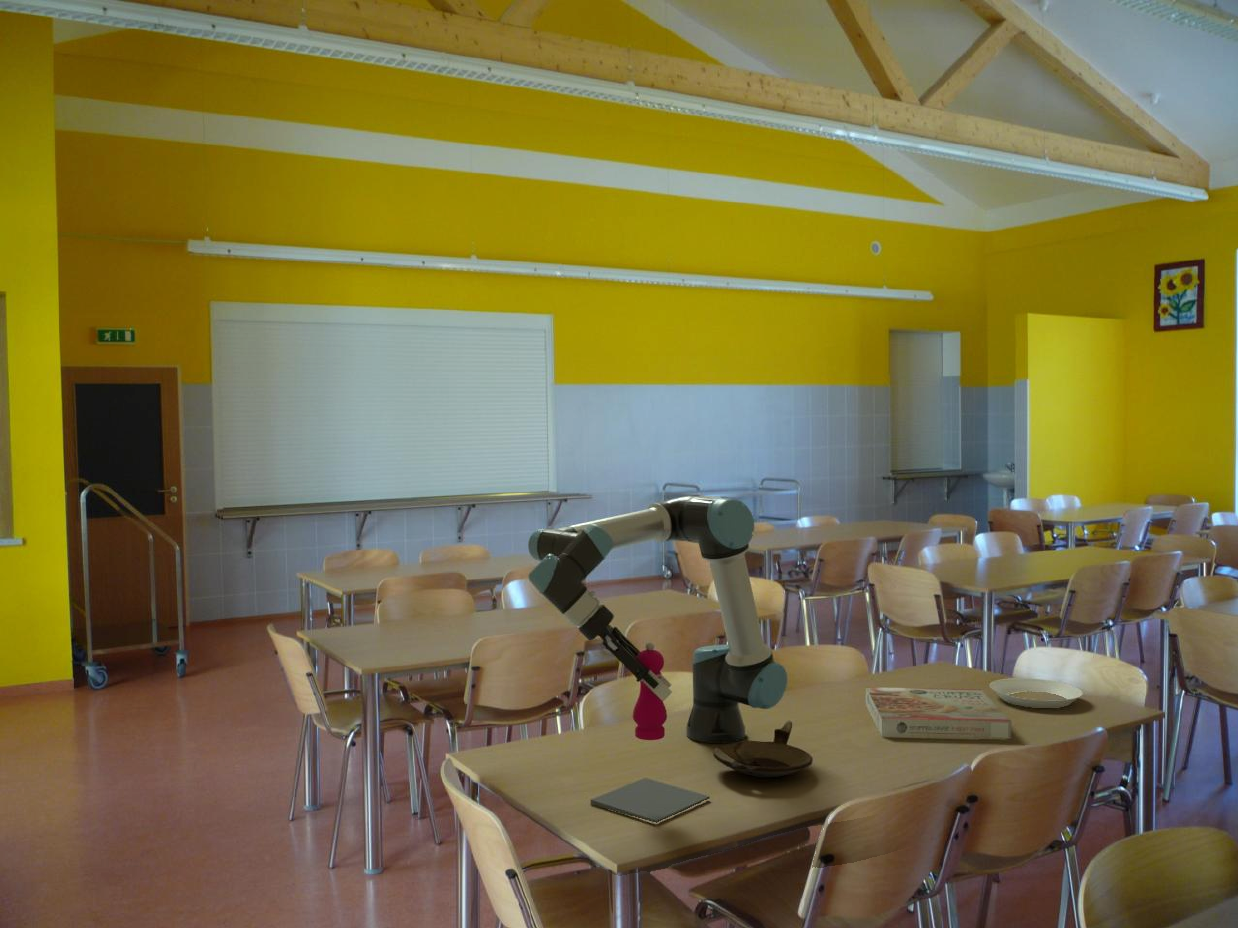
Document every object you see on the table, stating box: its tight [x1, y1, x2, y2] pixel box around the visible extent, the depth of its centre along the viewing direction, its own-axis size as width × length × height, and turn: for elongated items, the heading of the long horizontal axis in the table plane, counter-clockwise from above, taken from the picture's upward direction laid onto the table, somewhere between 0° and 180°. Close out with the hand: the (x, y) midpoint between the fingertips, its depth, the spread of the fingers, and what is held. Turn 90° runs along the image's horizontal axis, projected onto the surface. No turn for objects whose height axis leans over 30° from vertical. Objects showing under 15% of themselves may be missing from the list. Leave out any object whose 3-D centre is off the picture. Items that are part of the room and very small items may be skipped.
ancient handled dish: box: [712, 720, 814, 778], centre depth 246 cm, size 22×30×8 cm
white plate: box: [989, 677, 1084, 709], centre depth 305 cm, size 25×25×4 cm
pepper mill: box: [632, 642, 668, 741], centre depth 224 cm, size 7×7×20 cm
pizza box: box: [865, 686, 1012, 740], centre depth 285 cm, size 32×5×32 cm
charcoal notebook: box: [590, 777, 711, 823], centre depth 225 cm, size 18×18×1 cm
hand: (667, 692), depth 224 cm, fingers closed on pepper mill, 5 cm apart
